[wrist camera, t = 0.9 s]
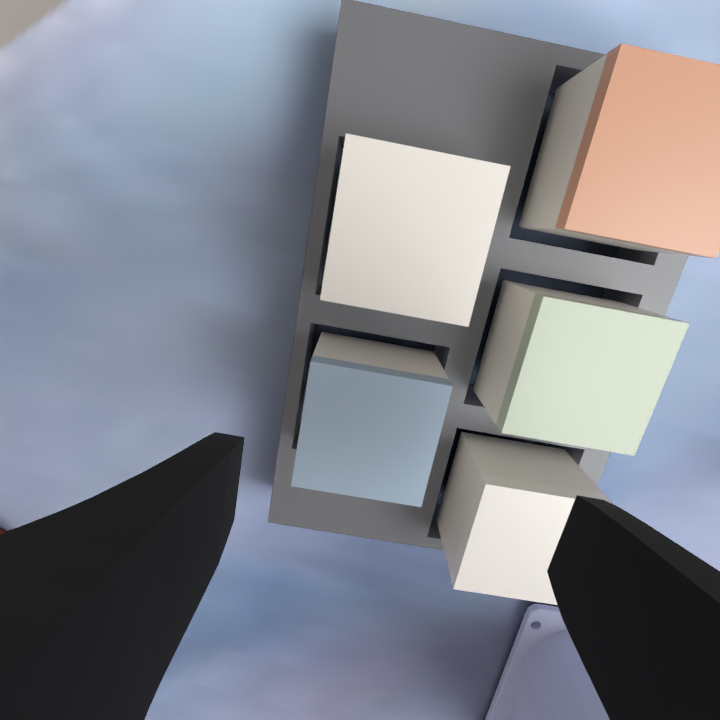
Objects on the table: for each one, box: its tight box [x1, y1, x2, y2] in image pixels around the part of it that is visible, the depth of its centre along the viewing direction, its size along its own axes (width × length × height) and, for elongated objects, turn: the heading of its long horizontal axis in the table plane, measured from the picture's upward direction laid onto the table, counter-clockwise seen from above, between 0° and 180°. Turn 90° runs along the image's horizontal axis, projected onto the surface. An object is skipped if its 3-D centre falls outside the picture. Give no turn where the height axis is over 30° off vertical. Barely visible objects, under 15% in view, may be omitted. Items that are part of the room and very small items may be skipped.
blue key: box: [291, 332, 453, 507], centre depth 15 cm, size 4×4×4 cm
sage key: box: [473, 280, 689, 456], centre depth 14 cm, size 4×4×4 cm
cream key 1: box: [320, 133, 511, 327], centre depth 13 cm, size 4×4×4 cm
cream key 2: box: [437, 432, 612, 605], centre depth 16 cm, size 4×4×4 cm
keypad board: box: [268, 0, 689, 550], centre depth 17 cm, size 18×12×2 cm
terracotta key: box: [518, 44, 720, 258], centre depth 13 cm, size 4×4×4 cm
